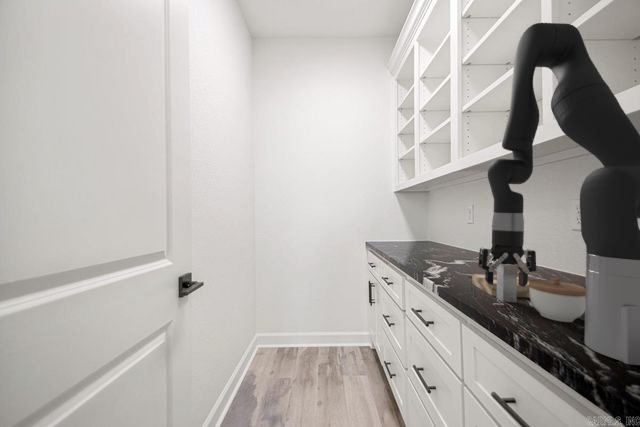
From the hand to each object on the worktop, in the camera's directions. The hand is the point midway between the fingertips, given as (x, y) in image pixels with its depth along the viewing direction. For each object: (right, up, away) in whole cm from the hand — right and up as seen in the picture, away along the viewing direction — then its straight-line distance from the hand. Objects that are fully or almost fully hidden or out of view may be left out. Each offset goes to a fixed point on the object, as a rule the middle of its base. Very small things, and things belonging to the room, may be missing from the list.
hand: (506, 284), depth 78 cm
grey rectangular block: (0, -4, 0) cm, 4 cm away
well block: (+6, -4, +10) cm, 13 cm away
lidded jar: (+3, -5, -13) cm, 14 cm away
